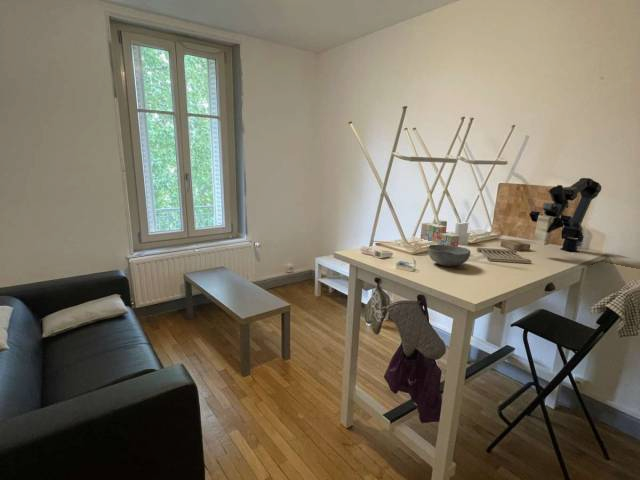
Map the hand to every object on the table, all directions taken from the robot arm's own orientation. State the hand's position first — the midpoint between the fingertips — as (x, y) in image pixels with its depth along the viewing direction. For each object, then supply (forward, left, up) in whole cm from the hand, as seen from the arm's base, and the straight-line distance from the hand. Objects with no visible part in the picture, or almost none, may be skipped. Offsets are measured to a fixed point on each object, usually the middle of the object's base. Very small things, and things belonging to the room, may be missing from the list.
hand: (542, 231), depth 168 cm
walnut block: (-1, -17, -14) cm, 22 cm away
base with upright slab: (+24, -31, -14) cm, 41 cm away
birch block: (-1, -1, -7) cm, 7 cm away
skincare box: (+34, -37, -14) cm, 52 cm away
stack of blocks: (+44, -20, -14) cm, 50 cm away
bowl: (+56, +9, -14) cm, 58 cm away
